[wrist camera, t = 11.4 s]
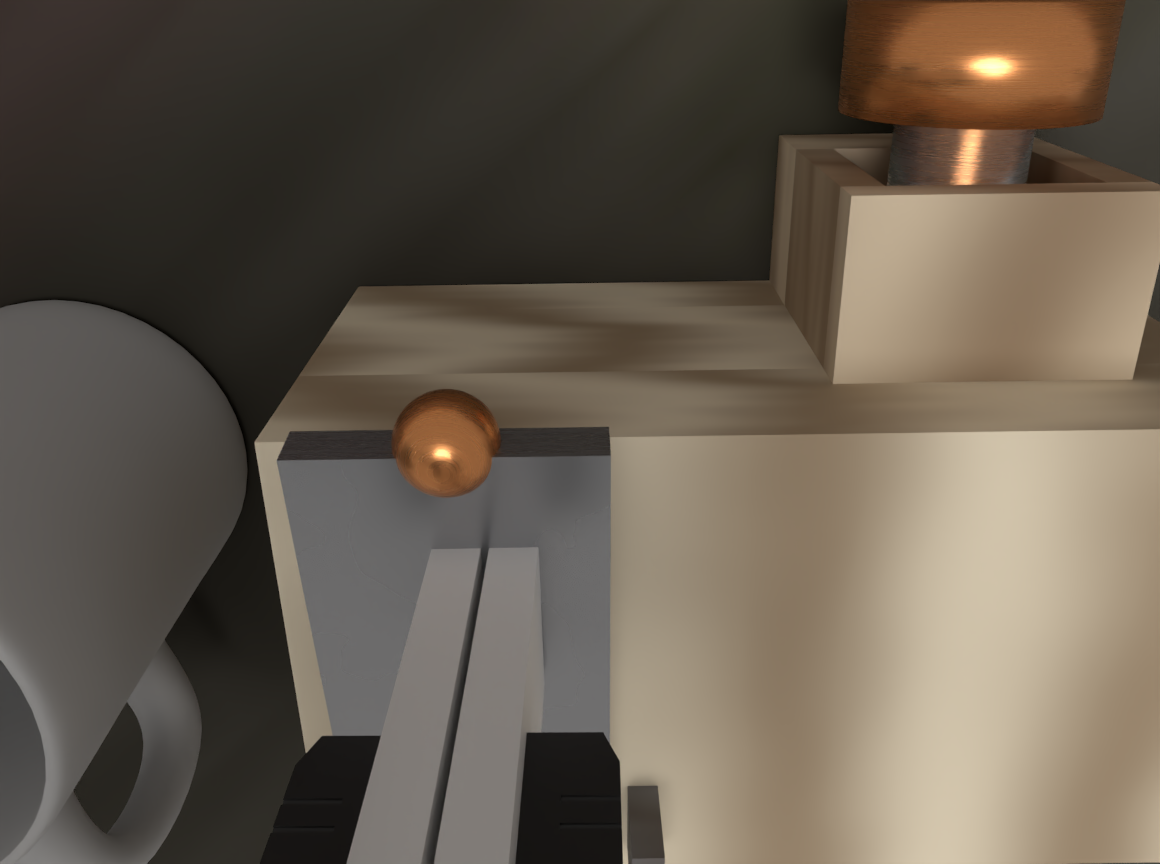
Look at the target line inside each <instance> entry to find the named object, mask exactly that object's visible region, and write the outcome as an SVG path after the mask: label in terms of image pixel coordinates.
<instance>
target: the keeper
mask: <svg viewBox="0 0 1160 864" xmlns="http://www.w3.org/2000/svg"><path fill="white" fill-rule="evenodd" d="M277 465H278V470H279V475H280V480H281V485H282V490H283V495H284V500H285V505H286V509H287V514H288V519H289V524H290V529H291V534H292V539H293V544H294V549H295V553H296V558H297V563H298V568H299V573H300V578H301V583H302V588H303V593H304V597H305V602H306V607H307V612H308V617H309V622H310V627H311V632H312V637H313V642H314V646H315V651H316V656H317V661H318V666H319V671H320V676H321V681H322V686H323V690H324V695H325V700H326V705H327V710H328V715H329V720H330V725H331V730H332V734H333V736H381V734H382V730H383V726H384V723H385V719H386V715H387V711H388V708H389V704H390V700H391V697H392V693H393V689H394V686H395V682H396V678H397V674H398V671H399V667H400V663H401V660H402V656H403V652H404V649H405V645H406V641H407V637H408V634H409V630H410V626H411V623H412V619H413V615H414V611H415V608H416V604H417V600H418V597H419V593H420V589H421V586H422V582H423V578H424V574H425V571H426V567H427V563H428V560H429V556H430V552H431V549H466V548H481V558H482V569H483V580H484V574H485V568H486V563H487V557H488V551H489V548H522V547H538V549H539V569H540V589H541V612H542V636H543V659H544V683H545V685H544V699H543V714H542V728H541V732H603V733H604V735H605V736H606V738H607V740H608V742H609V743H610V567H611V449H610V433H609V427H556V428H499V427H498V423H497V421H496V419H495V417H494V416H493V414H492V413H491V411H490V410H489V408H488V407H487V406H486V405H485V404H484V403H483V402H482V401H480V400H479V399H477V398H476V397H474V396H473V395H471V394H469V393H466V392H463V391H460V390H455V389H438V390H433V391H430V392H426V393H424V394H422V395H420V396H418V397H417V398H415V399H414V400H412V401H411V402H410V403H409V404H408V405H407V406H406V407H405V408H404V409H403V410H402V412H401V413H400V415H399V416H398V418H397V421H396V423H395V425H394V428H393V430H350V431H290V432H289V434H288V436H287V439H286V441H285V443H284V445H283V447H282V450H281V452H280V454H279V456H278V458H277Z"/></svg>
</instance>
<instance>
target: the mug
mask: <svg viewBox="0 0 1160 864" xmlns="http://www.w3.org/2000/svg"><path fill="white" fill-rule="evenodd" d="M247 472H248V469H247V455H246V449H245V444H244V439H243V435H242V432H241V429H240V426H239V423H238V421H237V418H236V415H235V413H234V411H233V409H232V408H231V406H230V404H229V402H228V400H227V398H226V396H225V395H224V393H223V392H222V390H221V389H220V387H219V386H218V384H217V383H216V381H215V380H214V379H213V378H212V376H211V375H210V374H209V373H208V372H207V371H206V370H205V368H204V367H203V366H202V365H201V364H200V363H199V362H198V361H197V360H196V359H195V358H194V357H193V356H192V355H191V354H190V353H188V352H187V351H186V350H185V349H184V348H183V347H182V346H180V345H179V344H178V343H176V342H175V341H173V340H172V339H171V338H169V337H168V336H167V335H165V334H164V333H162V332H160V331H159V330H157V329H155V328H153V327H152V326H150V325H148V324H146V323H145V322H143V321H140V320H138V319H136V318H134V317H131V316H129V315H127V314H125V313H122V312H119V311H116V310H112V309H109V308H106V307H103V306H99V305H94V304H89V303H83V302H78V301H64V300H44V301H30V302H25V303H19V304H14V305H9V306H5V307H2V308H0V864H147V863H148V862H149V861H150V859H151V858H152V857H153V856H154V855H155V854H156V852H157V851H158V849H159V848H160V846H161V845H162V843H163V841H164V840H165V838H166V837H167V835H168V834H169V832H170V830H171V828H172V826H173V824H174V822H175V820H176V818H177V817H178V815H179V813H180V810H181V808H182V806H183V803H184V801H185V798H186V796H187V793H188V791H189V788H190V785H191V782H192V779H193V775H194V772H195V769H196V765H197V760H198V755H199V751H200V745H201V732H202V724H201V714H200V708H199V705H198V701H197V697H196V695H195V692H194V690H193V687H192V685H191V683H190V681H189V679H188V677H187V675H186V673H185V671H184V670H183V668H182V666H181V665H180V663H179V661H178V660H177V658H176V657H175V655H174V653H173V652H172V650H171V649H170V647H169V646H168V644H167V643H166V641H165V638H166V636H167V635H168V633H169V632H170V630H171V628H172V627H173V625H174V623H175V622H176V620H177V619H178V617H179V615H180V614H181V612H182V611H183V609H184V607H185V606H186V604H187V602H188V601H189V599H190V598H191V596H192V594H193V593H194V591H195V590H196V588H197V586H198V585H199V583H200V582H201V580H202V579H203V577H204V576H205V574H206V573H207V571H208V570H209V568H210V566H211V565H212V563H213V562H214V560H215V559H216V557H217V556H218V554H219V552H220V551H221V549H222V548H223V546H224V544H225V543H226V541H227V540H228V538H229V536H230V535H231V533H232V531H233V529H234V527H235V525H236V522H237V520H238V517H239V515H240V513H241V510H242V506H243V502H244V498H245V494H246V485H247ZM126 702H127V703H128V704H129V705H130V707H131V708H132V710H133V711H134V713H135V715H136V717H137V719H138V721H139V724H140V727H141V730H142V736H143V744H144V745H143V757H142V762H141V767H140V771H139V775H138V778H137V781H136V783H135V786H134V789H133V791H132V794H131V796H130V798H129V800H128V802H127V804H126V806H125V808H124V809H123V811H122V813H121V815H120V816H119V818H118V820H117V821H116V822H115V824H114V825H113V826H112V828H111V829H110V830H109V832H108V833H107V834H106V833H104V832H103V831H102V830H100V829H99V828H98V827H97V826H96V825H95V824H94V823H93V821H92V820H91V819H90V818H89V817H88V815H87V814H86V812H85V811H84V809H83V808H82V806H81V804H80V803H79V801H78V799H77V797H76V795H75V793H74V791H73V790H74V788H75V786H76V785H77V783H78V782H79V780H80V778H81V777H82V775H83V774H84V772H85V770H86V769H87V767H88V766H89V764H90V762H91V761H92V759H93V757H94V756H95V754H96V753H97V751H98V749H99V748H100V746H101V744H102V743H103V741H104V739H105V738H106V736H107V734H108V732H109V731H110V729H111V727H112V726H113V724H114V722H115V721H116V719H117V717H118V716H119V714H120V712H121V710H122V709H123V707H124V706H125V704H126Z"/></svg>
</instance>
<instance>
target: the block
mask: <svg viewBox="0 0 1160 864" xmlns="http://www.w3.org/2000/svg"><path fill="white" fill-rule="evenodd" d="M892 136H893V133H889V134H822V135H779V144H778V159H777V174H776V189H775V204H774V219H773V234H772V248H771V263H770V278H769V280H766V281H699V282H631V283H563V284H496V285H428V286H360V287H358V288H357V290H356V291H355V293H354V294H353V296H352V297H351V299H350V300H349V302H348V303H347V305H346V306H345V308H344V309H343V311H342V312H341V314H340V315H339V317H338V318H337V320H336V321H335V323H334V324H333V326H332V327H331V329H330V330H329V332H328V333H327V335H326V336H325V338H324V339H323V341H322V342H321V344H320V345H319V347H318V348H317V350H316V351H315V353H314V354H313V356H312V357H311V359H310V360H309V362H308V363H307V365H306V366H305V367H304V369H303V370H302V372H301V373H300V375H299V376H298V378H297V379H296V381H295V382H294V384H293V385H292V387H291V388H290V390H289V391H288V393H287V394H286V396H285V397H284V399H283V400H282V402H281V403H280V405H279V406H278V408H277V409H276V411H275V412H274V414H273V415H272V417H271V418H270V420H269V421H268V423H267V424H266V426H265V427H264V429H263V430H262V432H261V433H260V435H259V436H258V438H257V439H256V441H255V442H254V444H255V450H256V456H257V462H258V468H259V474H260V480H261V486H262V492H263V498H264V504H265V510H266V516H267V522H268V528H269V534H270V540H271V546H272V552H273V558H274V564H275V570H276V576H277V582H278V588H279V594H280V600H281V606H282V612H283V618H284V624H285V630H286V636H287V642H288V648H289V654H290V660H291V666H292V673H293V679H294V685H295V691H296V697H297V703H298V709H299V715H300V721H301V727H302V733H303V739H304V745H305V751H306V753H307V752H308V751H309V750H310V749H311V747H312V746H313V745H314V744H315V743H316V742H317V741H318V740H319V739H320V737H321V736H333V734H332V730H331V725H330V720H329V715H328V710H327V705H326V700H325V695H324V690H323V686H322V681H321V676H320V671H319V666H318V661H317V656H316V651H315V646H314V642H313V637H312V632H311V627H310V622H309V617H308V612H307V607H306V602H305V597H304V593H303V588H302V583H301V578H300V573H299V568H298V563H297V558H296V553H295V549H294V544H293V539H292V534H291V529H290V524H289V519H288V514H287V509H286V505H285V500H284V495H283V490H282V485H281V480H280V475H279V470H278V465H277V458H278V456H279V454H280V452H281V450H282V447H283V445H284V443H285V441H286V439H287V436H288V434H289V432H290V431H350V430H393V428H394V425H395V423H396V421H397V418H398V416H399V415H400V413H401V412H402V410H403V409H404V408H405V407H406V406H407V405H408V404H409V403H410V402H411V401H412V400H414V399H415V398H417V397H418V396H420V395H422V394H424V393H426V392H430V391H433V390H438V389H455V390H460V391H463V392H466V393H469V394H471V395H473V396H474V397H476V398H477V399H479V400H480V401H482V402H483V403H484V404H485V405H486V406H487V407H488V408H489V410H490V411H491V413H492V414H493V416H494V417H495V419H496V421H497V423H498V427H499V428H556V427H609V433H610V449H611V567H610V745H611V747H612V749H613V750H614V752H615V754H616V755H617V757H618V759H619V761H620V780H621V814H622V848H623V864H1067V863H1140V862H1160V322H1158V321H1157V320H1155V319H1153V318H1152V317H1150V316H1148V311H1149V306H1150V302H1151V298H1152V293H1153V289H1154V285H1155V281H1156V276H1157V272H1158V268H1159V263H1160V185H1159V184H1157V183H1154V182H1151V181H1149V180H1146V179H1143V178H1141V177H1138V176H1135V175H1133V174H1130V173H1127V172H1125V171H1122V170H1119V169H1117V168H1114V167H1111V166H1109V165H1106V164H1104V163H1101V162H1098V161H1096V160H1093V159H1090V158H1088V157H1085V156H1082V155H1080V154H1077V153H1074V152H1072V151H1069V150H1066V149H1064V148H1061V147H1059V146H1056V145H1053V144H1051V143H1048V142H1045V141H1043V140H1040V139H1037V138H1035V137H1034V142H1033V148H1032V154H1031V159H1030V165H1029V171H1028V177H1027V183H1026V184H979V185H912V186H887V181H888V172H889V163H890V154H891V145H892Z"/></svg>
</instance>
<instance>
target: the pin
mask: <svg viewBox="0 0 1160 864" xmlns="http://www.w3.org/2000/svg"><path fill="white" fill-rule="evenodd" d="M1125 1H1126V0H848V3H847V14H846V25H845V37H844V48H843V59H842V70H841V81H840V92H839V103H838V111H839V112H841V113H842V114H845V115H847V116H850V117H854V118H858V119H863V120H868V121H874V122H881V123H888V124H894V128H893V136H892V145H891V154H890V163H889V172H888V181H887V186H912V185H979V184H1026V183H1027V177H1028V171H1029V165H1030V159H1031V154H1032V148H1033V142H1034V136H1035V130H1036V129H1049V128H1062V127H1071V126H1079V125H1085V124H1090V123H1094V122H1097V121H1099V120H1101V119H1102V118H1103V113H1104V108H1105V102H1106V97H1107V92H1108V87H1109V82H1110V77H1111V72H1112V67H1113V62H1114V57H1115V52H1116V47H1117V41H1118V36H1119V31H1120V26H1121V21H1122V16H1123V11H1124V6H1125Z"/></svg>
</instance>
